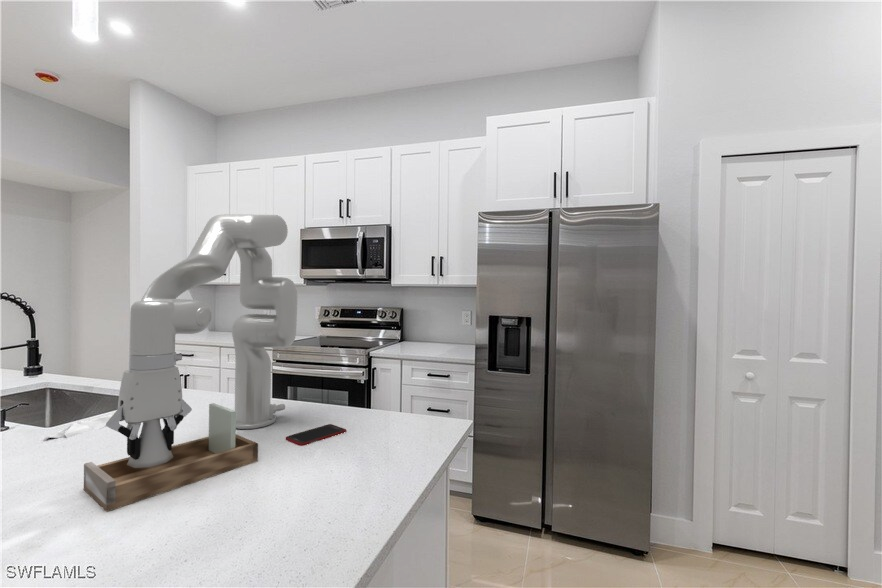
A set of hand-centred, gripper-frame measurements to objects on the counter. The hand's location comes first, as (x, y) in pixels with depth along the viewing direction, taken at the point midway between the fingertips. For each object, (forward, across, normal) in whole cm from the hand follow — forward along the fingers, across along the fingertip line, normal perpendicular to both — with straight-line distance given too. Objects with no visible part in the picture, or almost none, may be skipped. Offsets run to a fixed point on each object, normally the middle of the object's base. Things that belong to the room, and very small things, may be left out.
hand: (150, 452), depth 84 cm
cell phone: (+6, -38, +3) cm, 39 cm away
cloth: (+7, -4, -51) cm, 52 cm away
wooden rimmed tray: (+6, -5, 0) cm, 8 cm away
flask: (+2, 0, 0) cm, 2 cm away
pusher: (+5, -14, 0) cm, 15 cm away
